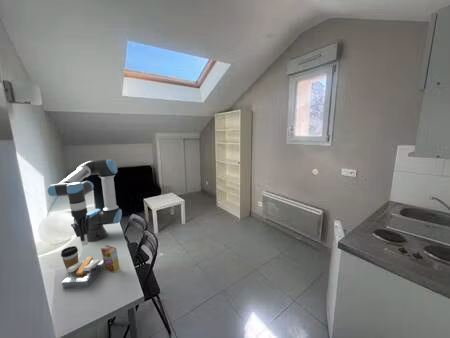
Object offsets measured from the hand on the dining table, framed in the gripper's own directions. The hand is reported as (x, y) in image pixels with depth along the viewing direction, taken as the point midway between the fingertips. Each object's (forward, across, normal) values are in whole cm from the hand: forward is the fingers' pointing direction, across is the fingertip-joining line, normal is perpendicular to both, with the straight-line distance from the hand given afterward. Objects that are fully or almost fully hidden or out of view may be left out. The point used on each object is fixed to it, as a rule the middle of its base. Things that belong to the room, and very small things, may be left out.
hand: (85, 244), depth 118 cm
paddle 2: (+12, +3, +4) cm, 13 cm away
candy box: (+19, -2, +13) cm, 23 cm away
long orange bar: (+12, +3, 0) cm, 12 cm away
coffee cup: (+19, -3, -12) cm, 23 cm away
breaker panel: (+19, +3, 0) cm, 19 cm away
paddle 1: (+12, +3, -5) cm, 13 cm away
